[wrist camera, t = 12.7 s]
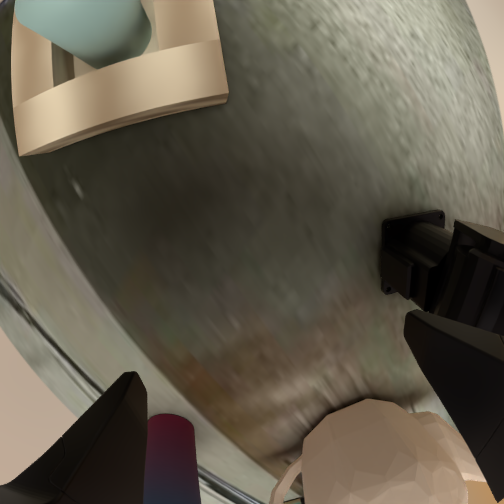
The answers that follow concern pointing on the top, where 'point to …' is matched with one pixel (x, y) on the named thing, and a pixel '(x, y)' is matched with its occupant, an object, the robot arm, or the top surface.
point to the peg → (90, 27)
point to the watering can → (382, 459)
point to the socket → (116, 79)
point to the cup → (171, 462)
